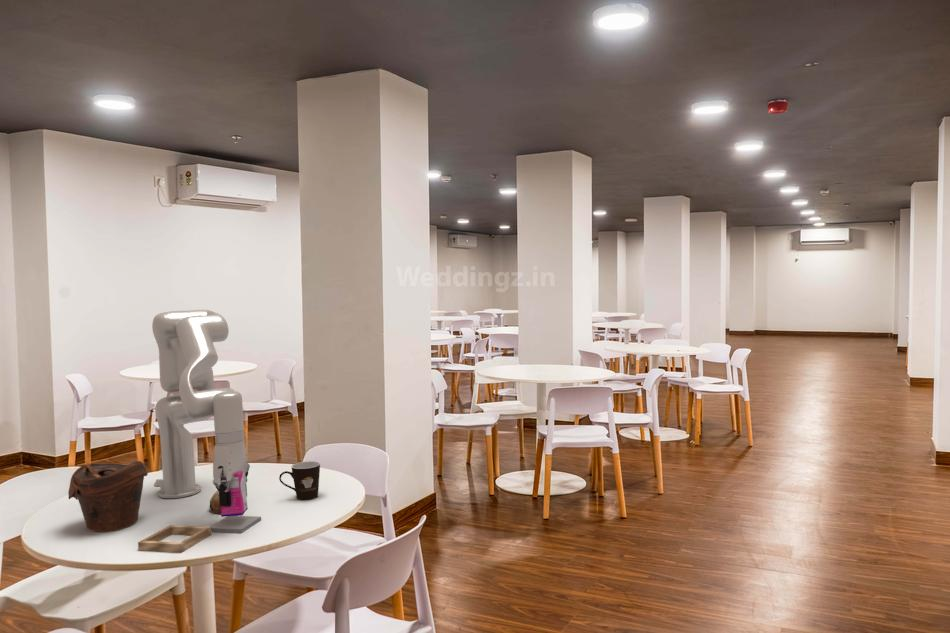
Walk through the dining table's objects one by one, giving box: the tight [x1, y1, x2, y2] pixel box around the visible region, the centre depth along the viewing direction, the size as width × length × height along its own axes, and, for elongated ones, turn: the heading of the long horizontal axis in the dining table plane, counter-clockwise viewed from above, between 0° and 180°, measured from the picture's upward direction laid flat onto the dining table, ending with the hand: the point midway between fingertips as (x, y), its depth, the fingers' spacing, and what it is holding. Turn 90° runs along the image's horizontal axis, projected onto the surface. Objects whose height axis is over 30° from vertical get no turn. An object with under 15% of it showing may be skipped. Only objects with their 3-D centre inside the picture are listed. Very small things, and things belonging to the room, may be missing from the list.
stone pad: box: [209, 515, 262, 534], centre depth 190 cm, size 10×10×1 cm
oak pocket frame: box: [137, 524, 212, 553], centre depth 180 cm, size 12×12×2 cm
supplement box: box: [220, 470, 249, 518], centre depth 190 cm, size 6×6×12 cm
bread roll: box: [208, 491, 222, 515], centre depth 206 cm, size 10×10×8 cm
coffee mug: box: [278, 460, 321, 501], centre depth 214 cm, size 12×9×10 cm
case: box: [68, 460, 149, 532], centre depth 195 cm, size 18×20×18 cm
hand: (233, 501), depth 190 cm, fingers closed on supplement box, 7 cm apart
